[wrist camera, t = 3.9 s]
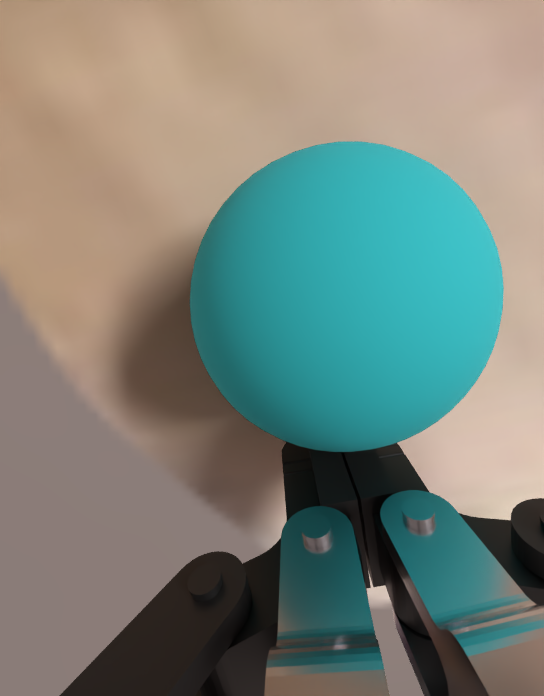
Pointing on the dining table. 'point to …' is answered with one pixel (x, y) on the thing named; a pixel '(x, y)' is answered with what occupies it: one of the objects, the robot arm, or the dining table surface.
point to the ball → (346, 296)
